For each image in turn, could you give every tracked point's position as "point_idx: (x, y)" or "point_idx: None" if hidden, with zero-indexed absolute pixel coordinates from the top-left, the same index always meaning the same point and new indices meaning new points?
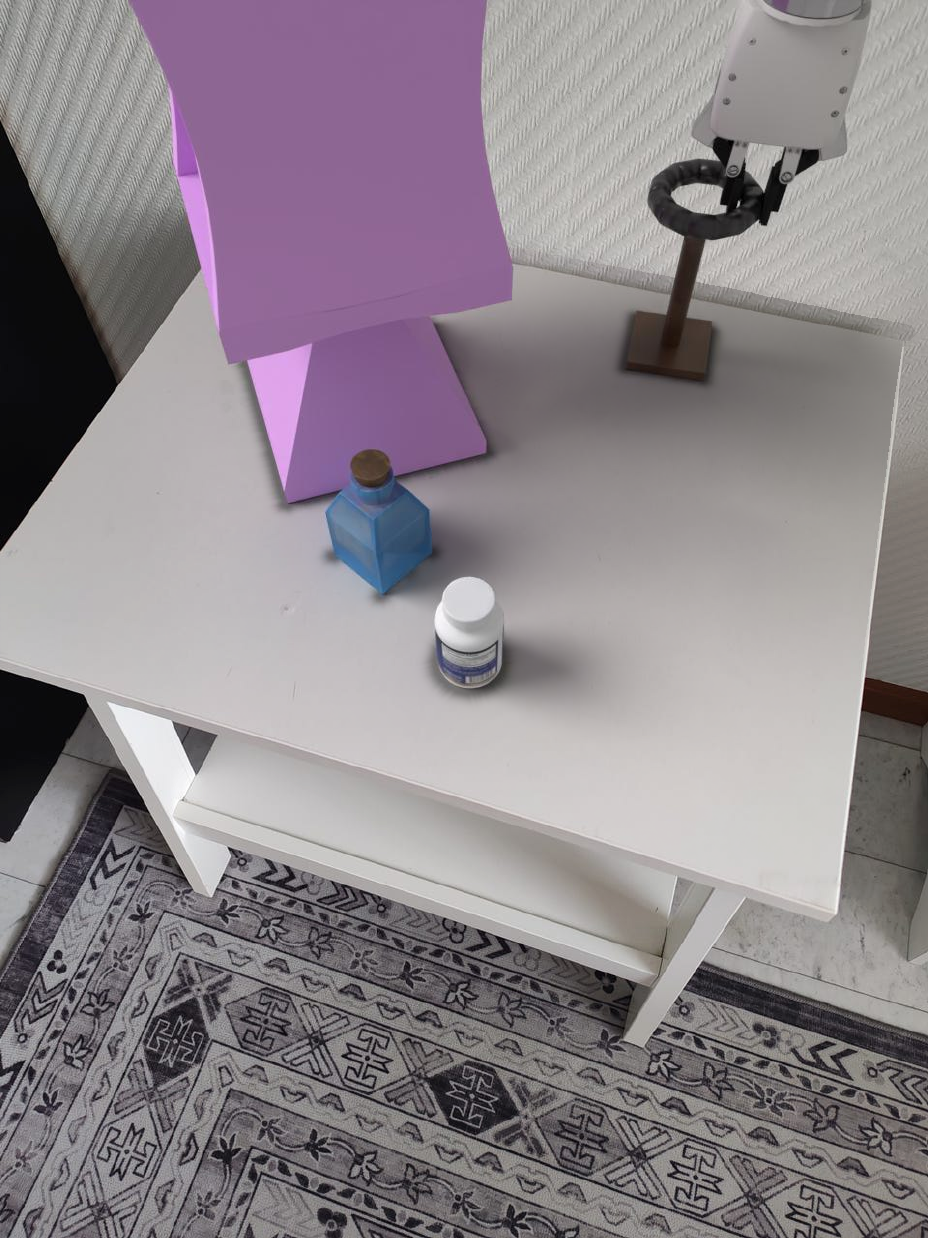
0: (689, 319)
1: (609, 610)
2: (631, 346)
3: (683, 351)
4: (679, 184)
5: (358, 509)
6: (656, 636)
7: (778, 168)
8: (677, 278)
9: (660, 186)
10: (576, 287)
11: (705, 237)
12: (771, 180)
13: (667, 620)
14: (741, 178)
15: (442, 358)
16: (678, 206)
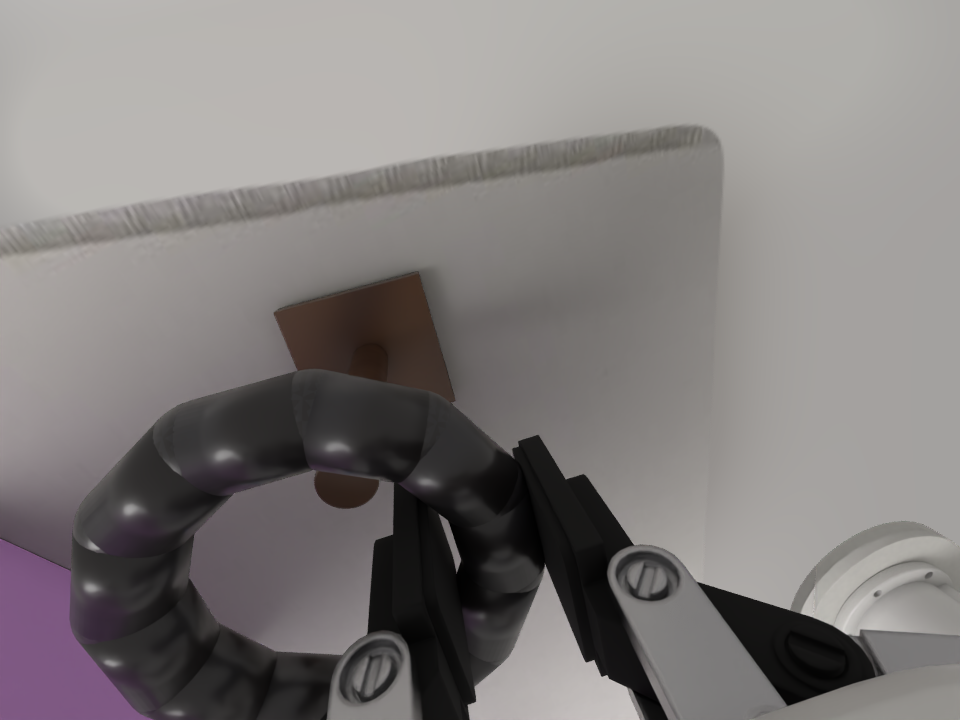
0: (377, 290)
1: (480, 712)
2: None
3: (402, 373)
4: (191, 548)
5: None
6: (531, 708)
7: (618, 671)
8: None
9: (144, 698)
10: (114, 279)
11: None
12: (585, 650)
13: (535, 692)
14: (464, 716)
15: (51, 676)
16: None
